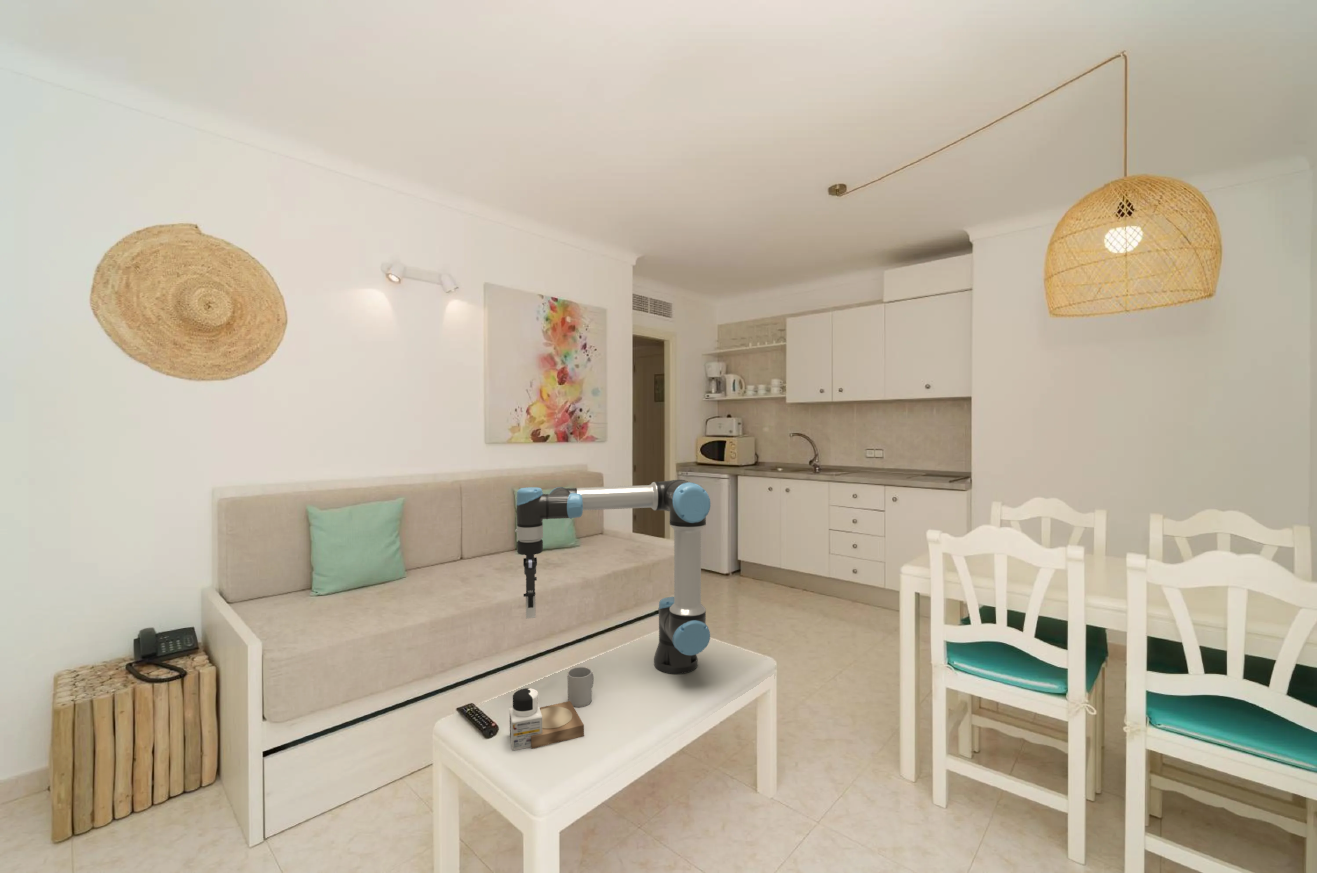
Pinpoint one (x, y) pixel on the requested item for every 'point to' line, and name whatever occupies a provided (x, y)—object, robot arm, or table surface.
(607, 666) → the table surface
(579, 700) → the cup
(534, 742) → the pedestal
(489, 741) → the table surface
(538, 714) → the container
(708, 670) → the table surface
